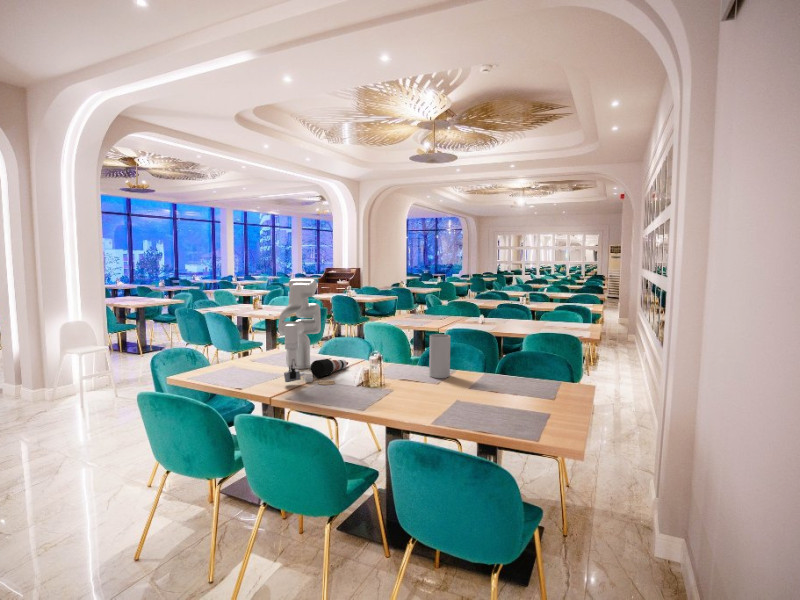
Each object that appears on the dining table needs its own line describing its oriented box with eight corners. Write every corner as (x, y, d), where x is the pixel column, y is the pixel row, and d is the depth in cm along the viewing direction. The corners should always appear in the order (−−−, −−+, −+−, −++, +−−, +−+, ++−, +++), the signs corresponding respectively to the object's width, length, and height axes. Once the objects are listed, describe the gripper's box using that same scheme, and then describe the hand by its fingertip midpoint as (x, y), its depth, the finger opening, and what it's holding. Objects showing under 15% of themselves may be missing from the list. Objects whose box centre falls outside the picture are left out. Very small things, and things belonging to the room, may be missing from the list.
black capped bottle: (349, 373, 301) (356, 361, 299) (319, 380, 271) (326, 366, 269) (338, 365, 305) (344, 352, 303) (307, 371, 275) (314, 357, 273)
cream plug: (303, 379, 270) (303, 370, 270) (310, 378, 272) (309, 370, 271) (306, 383, 260) (306, 375, 260) (313, 383, 261) (313, 374, 261)
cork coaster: (316, 381, 265) (316, 380, 265) (332, 379, 268) (332, 378, 268) (319, 385, 255) (319, 384, 255) (336, 384, 259) (336, 383, 259)
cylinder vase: (425, 376, 278) (425, 335, 276) (437, 372, 287) (437, 333, 285) (441, 379, 270) (442, 338, 268) (453, 375, 279) (454, 335, 277)
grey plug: (285, 382, 254) (284, 374, 253) (284, 380, 258) (283, 372, 257) (305, 378, 258) (304, 370, 257) (304, 376, 262) (302, 368, 261)
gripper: (283, 343, 261) (283, 374, 263) (287, 349, 246) (287, 382, 248) (296, 342, 264) (296, 373, 266) (301, 348, 249) (301, 381, 251)
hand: (292, 377), depth 257 cm, fingers closed on grey plug, 4 cm apart
